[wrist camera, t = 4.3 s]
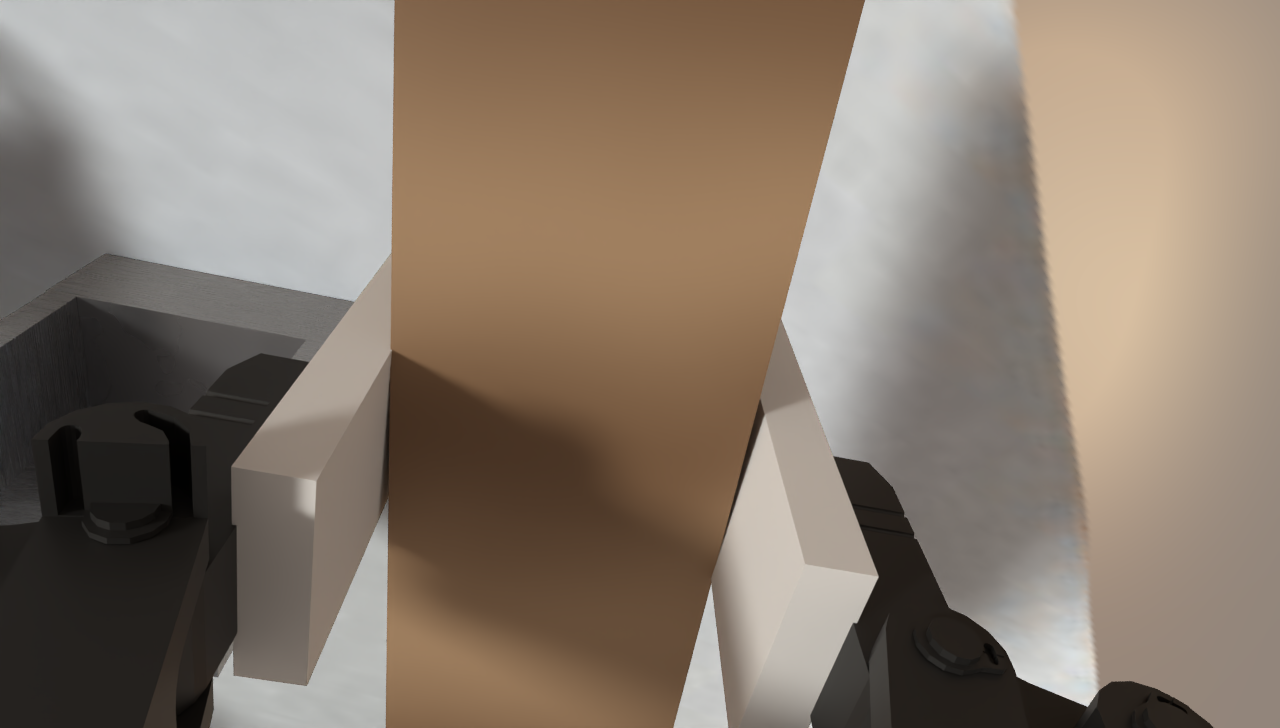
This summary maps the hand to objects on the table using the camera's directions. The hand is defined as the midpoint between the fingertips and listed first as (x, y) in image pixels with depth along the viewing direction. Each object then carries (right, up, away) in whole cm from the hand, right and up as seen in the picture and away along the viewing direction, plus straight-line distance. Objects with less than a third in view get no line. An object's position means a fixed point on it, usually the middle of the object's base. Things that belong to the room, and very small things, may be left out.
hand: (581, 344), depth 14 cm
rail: (0, +1, +1) cm, 1 cm away
